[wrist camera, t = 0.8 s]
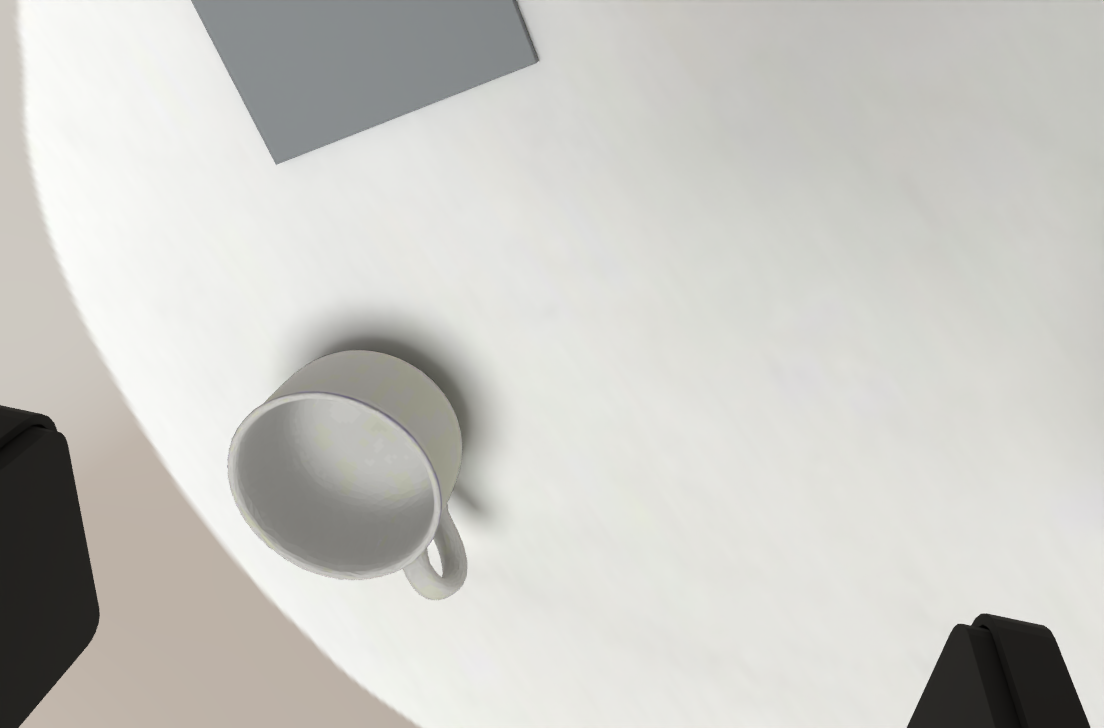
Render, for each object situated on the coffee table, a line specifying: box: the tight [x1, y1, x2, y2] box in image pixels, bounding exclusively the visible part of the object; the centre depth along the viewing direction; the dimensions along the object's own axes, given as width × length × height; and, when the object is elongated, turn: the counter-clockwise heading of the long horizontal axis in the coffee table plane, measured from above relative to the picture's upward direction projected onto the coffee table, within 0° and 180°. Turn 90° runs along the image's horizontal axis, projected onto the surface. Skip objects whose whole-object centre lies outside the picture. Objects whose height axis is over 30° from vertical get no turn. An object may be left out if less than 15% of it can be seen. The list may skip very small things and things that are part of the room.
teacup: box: [227, 350, 467, 600], centre depth 47 cm, size 14×11×8 cm
